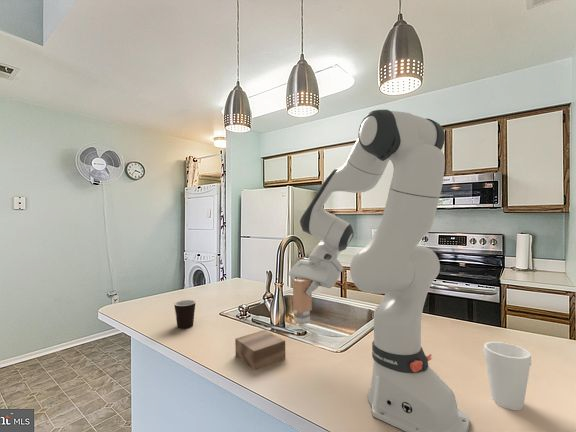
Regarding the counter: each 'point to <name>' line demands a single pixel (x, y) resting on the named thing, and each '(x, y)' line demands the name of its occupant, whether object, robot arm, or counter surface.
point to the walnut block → (260, 349)
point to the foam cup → (507, 373)
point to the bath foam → (301, 317)
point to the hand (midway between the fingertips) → (300, 292)
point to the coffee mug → (185, 313)
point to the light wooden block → (301, 295)
